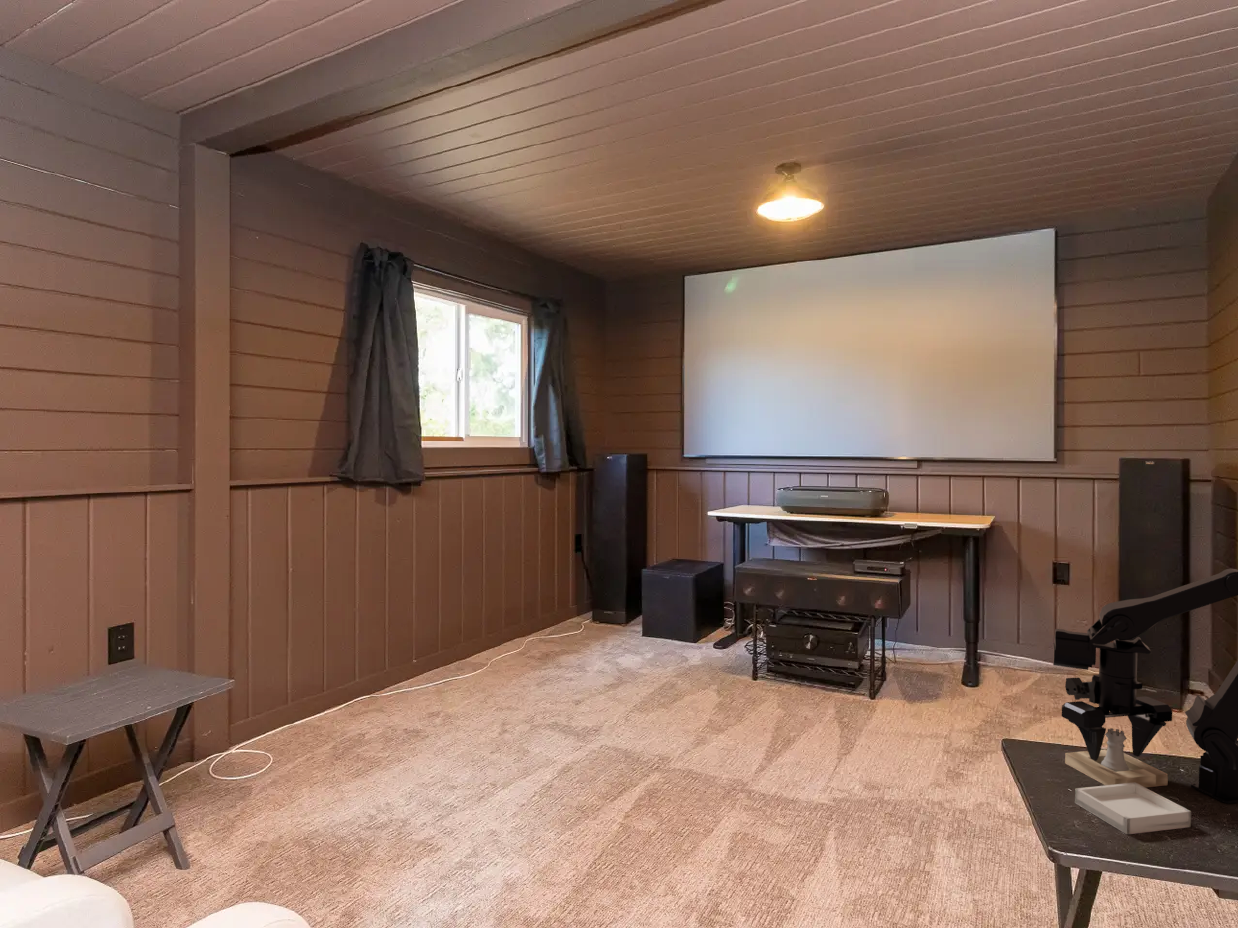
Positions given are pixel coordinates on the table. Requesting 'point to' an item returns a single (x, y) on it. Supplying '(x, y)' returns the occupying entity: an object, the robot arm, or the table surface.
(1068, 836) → the table surface
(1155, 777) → the socket block
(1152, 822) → the tray
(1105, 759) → the rook chess piece
